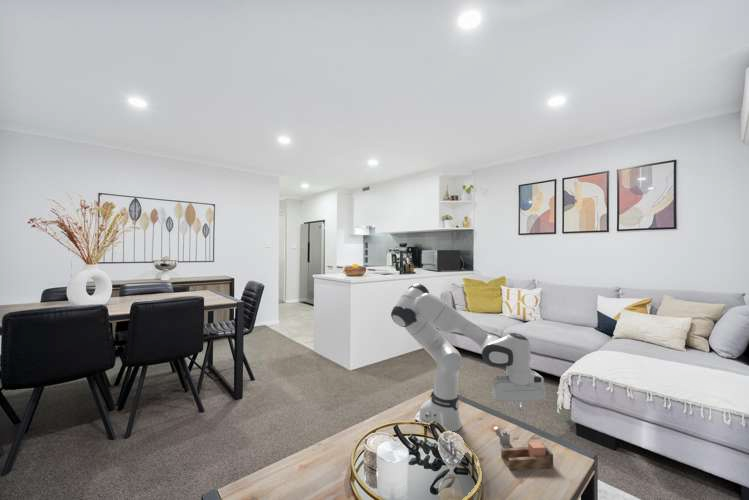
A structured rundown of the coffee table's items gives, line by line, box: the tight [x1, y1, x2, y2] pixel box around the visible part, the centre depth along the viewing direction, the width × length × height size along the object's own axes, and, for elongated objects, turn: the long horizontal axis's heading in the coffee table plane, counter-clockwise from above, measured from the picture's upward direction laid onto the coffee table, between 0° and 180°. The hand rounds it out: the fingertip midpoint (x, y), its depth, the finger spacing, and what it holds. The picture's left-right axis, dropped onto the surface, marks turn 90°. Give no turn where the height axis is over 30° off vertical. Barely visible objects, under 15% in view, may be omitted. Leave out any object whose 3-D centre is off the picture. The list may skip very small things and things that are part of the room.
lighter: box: [493, 426, 511, 446], centre depth 133 cm, size 7×2×8 cm, turn 107°
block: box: [527, 441, 547, 457], centre depth 121 cm, size 5×3×6 cm
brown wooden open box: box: [500, 442, 554, 472], centre depth 121 cm, size 17×7×5 cm, turn 93°
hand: (518, 410), depth 121 cm, fingers closed
